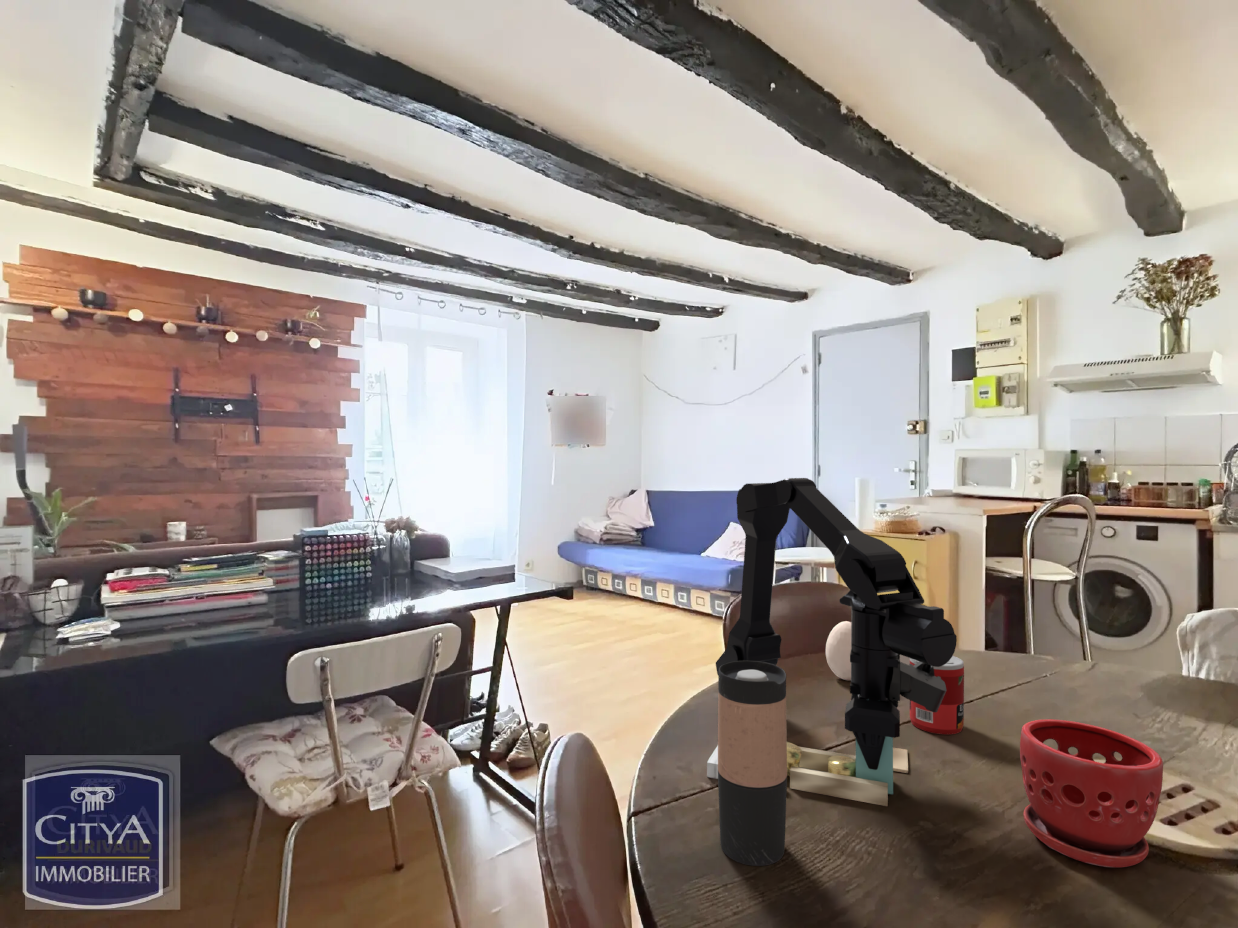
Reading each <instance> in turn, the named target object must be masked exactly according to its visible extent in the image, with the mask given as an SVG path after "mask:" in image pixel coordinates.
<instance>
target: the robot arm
mask: <svg viewBox="0 0 1238 928" xmlns="http://www.w3.org/2000/svg"><path fill="white" fill-rule="evenodd" d="M735 501H736V511H737V512H736V513H737V514H736V519H737V520H738V522H739V525H740V526H741V528H742V529H743V532H744V534H745V539H744V540H745V542H744V552H743V553H744V554H743V567H742V568H743V569H742V582H741V596H740V610H739V618H738V619H737V621H736V623H735V624H734V625H733V627H732V628H731V629H730V631H729V634H728V638H727V644H726V649H725V650H724V651H723V652H722V654H721V655H720V656H719V658H718V659H717V660H716V661H715V668H716V674H717V675H718V673H719V668H720V666H722V665H723V664H726V663H729V662H734V661H759V662H765V663H770V664H773V665H776V666H777V665H778V662H779V659H781V658H782V656H781V644H782V637H781V635H780V634H778V633H776V631H775V629H774V627H773V625H772V624H771V613H772V612H771V609H772V597H773V596H772V595H773V582H774V571H775V559H776V547H777V546H776V545H777V538H778V536H779V534H780V533H781V531H782V530H783V529H784V527H785V526H786V524H787V522H788V519H789V515H790V510H792V512H793V513H794V514H795V515H796V516H797V517H798V518H799V519H800V520H801V522H802V523H803V524H805V526H806V527H807V528H808V529H809V530H810V531H811V532H812V534H813V535H815V537H816V538H817V539H818V540H819V541H820V542H821V543H822V544H823V545H824V546H825V548H827V549H828V551H829V552H830V553H831V554H832V556H833V560H834V569H835V570H836V573H838V575H839V577H840V578H841V579H842V582H844V584H845V586H846V587H847V588H848V590H849V591H848V592H847V593H846V594H844V595H843V596H842V597H841V598H840V599H839V600H838V601H839V603H840V604H841V605H844V606H848V607H850V610H851V612H850V615H851V616H850V619H851V621H850V622H851V653H850V662H851V680H850V684H849V694H850V695H851V696H850V700H849V701H848V702H847V703H846V704H845V711H844V730H846V731H848V732H852V733H853V736H854V738H855V741H856V740H857V742H858V745H859V747H860V749H861V752H862V754H863V756H864V759H865V761H866V764H867V766H868V768H869V769H873V770H877V769H878V765H879V761H880V757H881V753H882V749H883V745H884V741H885V737H893V739H896V738H900V737H901V736H900V735H901V730H900V729H901V723H900V722H901V719H900V718H901V717H900V716H901V715H900V714H901V713H900V710H899V709H898V706H899V702H901V696H902V697H903V698H904V699H907V700H909V701H910V700H911V701H913V702H915V703H917V704H920V705H922V706H924V707H925V708H926V709H927V710H929V711H931V712H937V711H938V709H939V706H940V704H941V702H942V700H943V697H944V695H945V693H946V686H945V682H944V681H943V680H942V679H941V677H939V676H937V677H936V676H935V674H934V667H933V666H935V667H940V666H943V665H945V664H946V663H947V662H948V661H949V660H950V659H951V658H952V656H954V653H955V651H956V648H957V641H958V640H957V639H958V638H957V634H956V633H955V629H954V628H953V625H952V623H951V622H950V621H949V620H947V619H946V618H945V611H944V609H943V608H942V607H939V606H932V605H931V606H929V605H924V604H925V599H924V597H923V596H922V593H921V591H920V588H918V585H917V584H916V582H915V580H914V578H913V577H912V575H911V573H910V571H909V569H908V567H907V562H906V561H907V560H905V558H904V556H903V555H902V554H901V553H900V552H899V551H898V550H897V549H895V548H894V547H892V546H890V545H889V544H888V543H886V542H885V541H883V540H882V539H879V538H876V537H874V536H872V535H870V534H866V533H864V532H863V531H862V530H860V529H859V528H858V527H857V526H856V525H855V524H854V523H852V521H851V520H850V519H849V518H848V517H847V516H845V515H844V514H843V512H842V511H840V510H839V508H838V507H836V506H835V504H833V502H831V501H830V500H829V499H828V498H827V496H825V494H823V493H822V492H821V491H820V490H819V489H818V488H817V485H816V483H815V482H814V481H813V480H812V479H809V478H808V477H789V478H788V477H787V478H784V479H781V480H778V481H774V482H764V483H763V482H759V483H758V482H757V483H750V482H749V483H745V484H744V485H742V487H741V488H740V489H738V492H737V495H736V500H735ZM896 591H898V592H896ZM890 592H891V593H890ZM892 592H893V593H892ZM882 593H884V594H882ZM901 656H903V657H906V658H908V659H910V658H911V659H914V660H917V661H919V662H918V663H916V664H915V665H914V666H913V665H912V664H910V663H909V664H907V663H904V662H902V661H901Z"/></svg>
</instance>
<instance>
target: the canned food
mask: <svg viewBox="0 0 1238 928" xmlns="http://www.w3.org/2000/svg"><path fill="white" fill-rule="evenodd" d="M918 662H919V661H917V660H914V659H911V658H909V664H912V665H913V666H914V665H915V664H916V663H918ZM933 667H934V674H935V676H936V677H937V676H939V677H941V679H942V680H943V681H944V682H945V686H946V693H945V695H944V697H943V700H942V702H941V704H940V706H939V709H938V711H937V712H931V711H929V710H927V709H926V708H925V707H924V706H922V705H920V704H917V703H915V702H913V701H911V700H909V719H910V722H911V724H912V725H913V726H914V727H915V728H917V729H920V730H922V731H924V732H927V733H932V734H937V735H948V736H949V735H955V734H959V733H960V732H962V730H963V728H964V724H965V723H964V722H965V720H964V719H965V665H964V660H963V659H961V658H959V657H957V656H954V655H953V656H952V658H951V659H950V660H949V661H948V662H947V663H946V664H945V665H943V666H940V667H935V666H933Z"/></svg>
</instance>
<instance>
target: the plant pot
mask: <svg viewBox="0 0 1238 928" xmlns="http://www.w3.org/2000/svg"><path fill="white" fill-rule="evenodd" d="M1020 731H1021V732H1020V738H1019V739H1020V741H1019V757H1020V758H1019V759H1020V765H1021V771H1022V783H1023V788H1024V789H1025V790H1024V791H1025V794H1026V797H1027V799H1028V800H1029V804H1028V805H1027V806H1025V807H1024V810H1023V821H1024V822H1025V825H1026V826H1027V828H1028V829H1029V830H1030V832H1031V833H1032V834H1033V835H1034V836H1035V837H1036V838H1037V839H1039V840H1040V841H1041V842H1042V843H1043V844H1045V845H1046V846H1047V848H1049V849H1052V850H1054V851H1056V852H1058V853H1060V854H1062V855H1063V856H1066V857H1069V858H1071V859H1074V860H1076V861H1079V862H1082V863H1085V864H1089V865H1094V866H1099V867H1104V868H1128V867H1132V866H1135V865H1137V864H1139V863H1141V862H1143V861H1144V860H1145V859H1146V857H1147V856H1148V854H1149V851H1150V848H1149V844H1148V841H1147V840H1146V838H1145V836H1146V835H1147V833H1148V832H1149V830H1150V829H1151V828H1152V826H1153V824H1154V821H1155V819H1156V816H1157V813H1158V809H1159V805H1160V804H1159V802H1160V797H1161V794H1162V790H1163V777H1164V775H1163V773H1164V762H1163V759H1162V757H1161V755H1160V754H1159V753H1158V752H1157V751H1156V750H1154V749H1153V748H1152V747H1150V746H1149V745H1147V744H1145V743H1144V742H1141V741H1140V740H1137V739H1136V738H1132V736H1131V737H1130V736H1128V735H1126V734H1124V733H1120V732H1118V731H1114V730H1112V729H1111V730H1110V729H1109V728H1104V727H1102V726H1097V725H1093V724H1088V723H1083V722H1078V721H1071V720H1064V719H1049V718H1048V719H1036V720H1031V721H1029V722H1025V724H1023V725H1022V727H1021V730H1020ZM1047 740H1053V741H1055V742H1056V744H1057V749H1056V748H1053V747H1050V746H1048V745H1047V744H1045V742H1046V741H1047ZM1070 748H1075V749H1076V750H1077V752H1076V753H1075V754H1072V753H1070V752H1069V749H1070ZM1115 753H1118V754H1119V755H1120V756H1121V760H1119V759H1117V758H1116V756H1115ZM1095 754H1099V755H1101V756H1102V757H1103V758H1105V762H1099V761H1095V760H1094V758H1093V757H1094V755H1095Z"/></svg>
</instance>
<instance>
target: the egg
mask: <svg viewBox="0 0 1238 928" xmlns="http://www.w3.org/2000/svg"><path fill="white" fill-rule="evenodd" d="M850 653H851V621H847V620H845V621H841V622H838V624H836V625H835V626H834V627H833V628H832V630H831V631H830V632H829V635H828V636H827V640H826V643H825V657H826V662H827V665H828V667H829V668H830V670H831V671H832V673H833V674H834V675H835V676H836V677H838V678H839V679H841V680H845V681H851V662H850Z"/></svg>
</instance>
